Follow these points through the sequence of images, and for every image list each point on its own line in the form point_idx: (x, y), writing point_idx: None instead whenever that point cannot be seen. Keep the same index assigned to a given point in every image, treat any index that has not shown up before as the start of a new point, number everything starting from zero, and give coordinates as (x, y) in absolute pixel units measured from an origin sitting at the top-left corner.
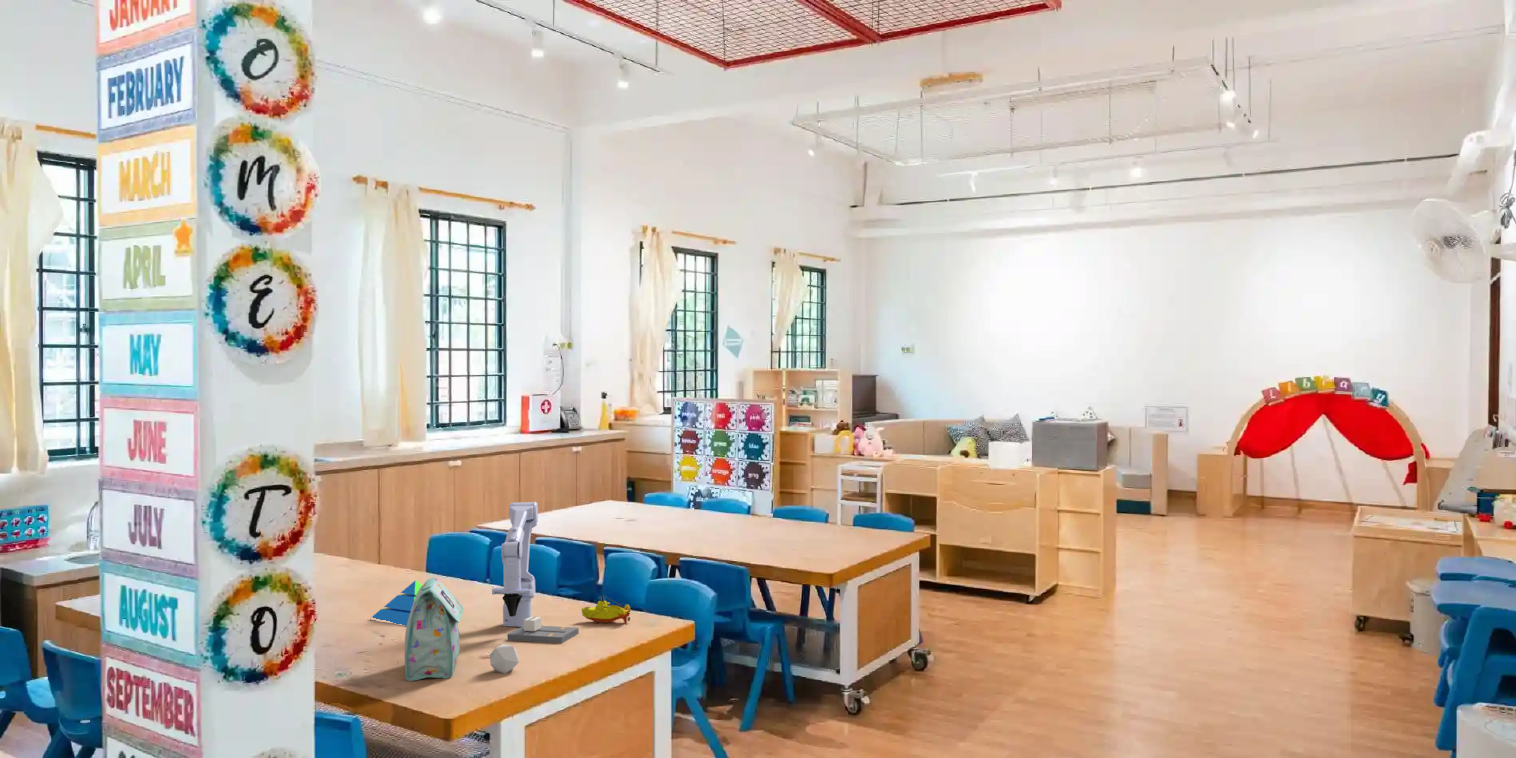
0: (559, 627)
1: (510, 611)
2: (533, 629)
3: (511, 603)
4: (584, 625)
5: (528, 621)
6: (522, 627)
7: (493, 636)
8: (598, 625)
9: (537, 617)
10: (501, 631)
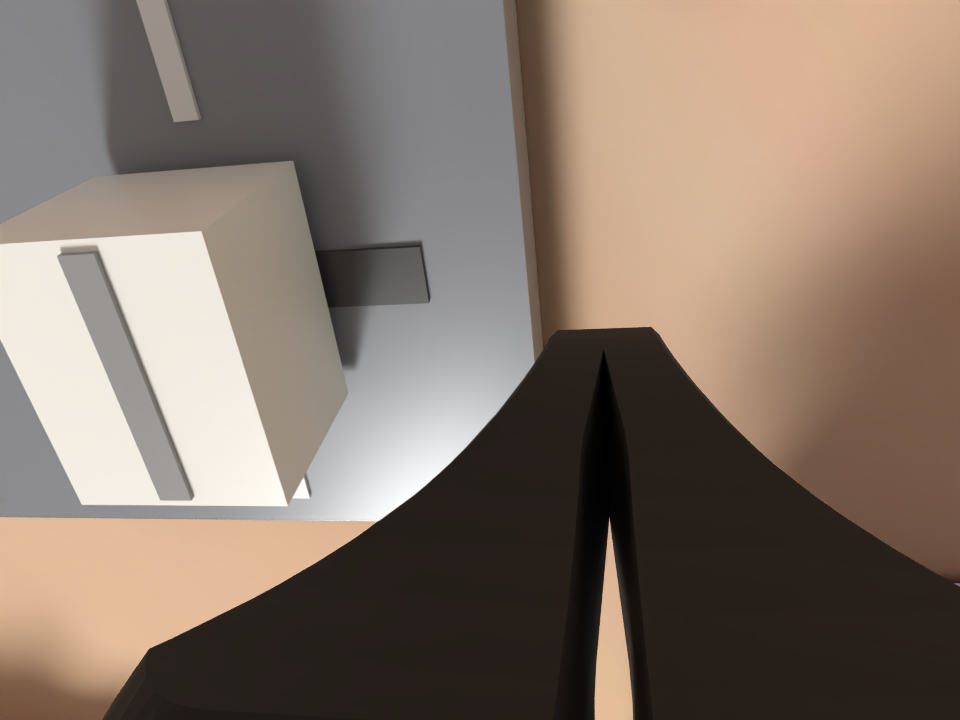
0: (35, 486)
1: (612, 380)
2: (97, 184)
3: (504, 528)
4: (110, 699)
5: (106, 230)
6: (507, 391)
7: (924, 43)
8: (7, 709)
9: (120, 473)
10: (904, 364)
